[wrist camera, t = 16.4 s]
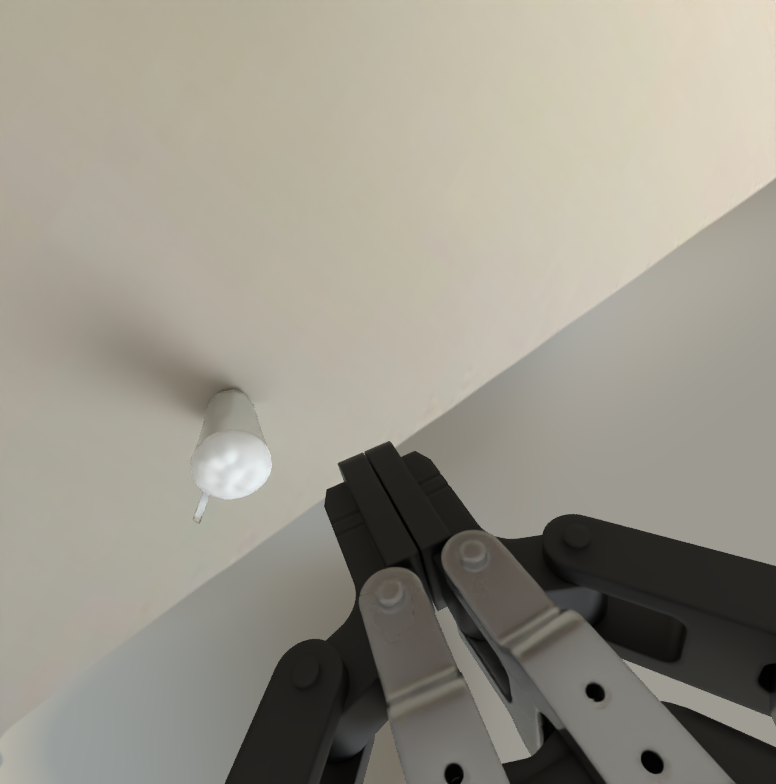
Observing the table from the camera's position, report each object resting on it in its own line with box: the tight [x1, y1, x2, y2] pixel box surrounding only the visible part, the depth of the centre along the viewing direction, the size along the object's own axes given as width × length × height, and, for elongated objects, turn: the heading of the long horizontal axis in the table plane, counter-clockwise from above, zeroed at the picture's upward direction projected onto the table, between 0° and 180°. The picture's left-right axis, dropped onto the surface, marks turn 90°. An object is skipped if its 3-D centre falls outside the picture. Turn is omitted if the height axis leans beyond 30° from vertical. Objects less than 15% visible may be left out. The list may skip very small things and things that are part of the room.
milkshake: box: [191, 389, 272, 523], centre depth 32 cm, size 4×5×10 cm
